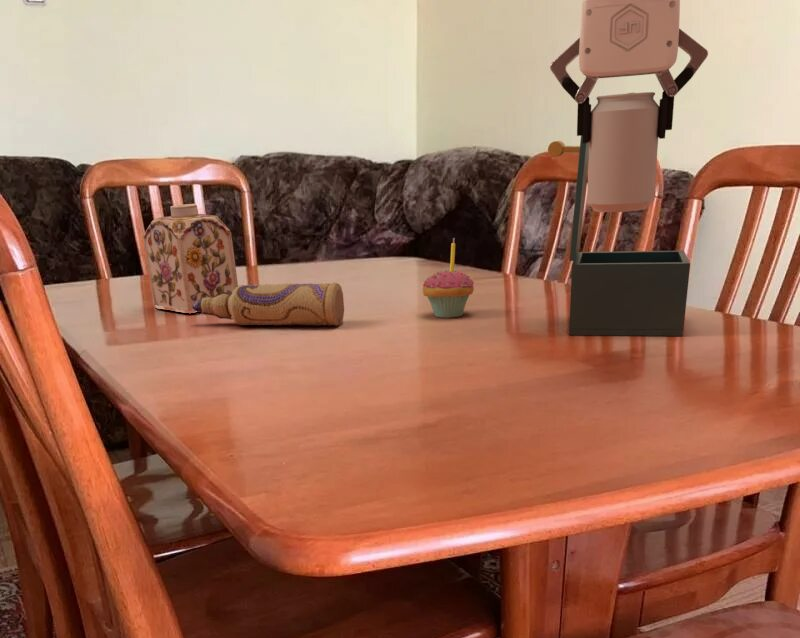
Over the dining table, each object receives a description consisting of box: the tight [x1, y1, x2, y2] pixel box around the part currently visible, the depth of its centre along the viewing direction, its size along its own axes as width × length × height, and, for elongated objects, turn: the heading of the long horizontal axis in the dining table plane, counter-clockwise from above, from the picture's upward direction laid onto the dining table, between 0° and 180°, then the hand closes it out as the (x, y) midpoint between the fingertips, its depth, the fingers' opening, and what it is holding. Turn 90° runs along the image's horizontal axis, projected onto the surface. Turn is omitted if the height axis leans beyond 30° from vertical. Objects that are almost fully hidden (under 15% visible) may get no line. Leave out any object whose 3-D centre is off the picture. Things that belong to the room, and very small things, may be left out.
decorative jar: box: [142, 203, 239, 311], centre depth 151 cm, size 12×12×18 cm
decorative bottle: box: [192, 282, 345, 327], centre depth 135 cm, size 26×8×7 cm, turn 76°
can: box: [586, 91, 660, 213], centre depth 93 cm, size 8×8×12 cm
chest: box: [568, 250, 691, 337], centre depth 122 cm, size 16×14×10 cm
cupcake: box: [422, 237, 475, 319], centre depth 135 cm, size 9×8×12 cm
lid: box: [547, 136, 589, 262], centre depth 118 cm, size 17×14×5 cm
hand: (623, 139), depth 93 cm, fingers closed on can, 7 cm apart
